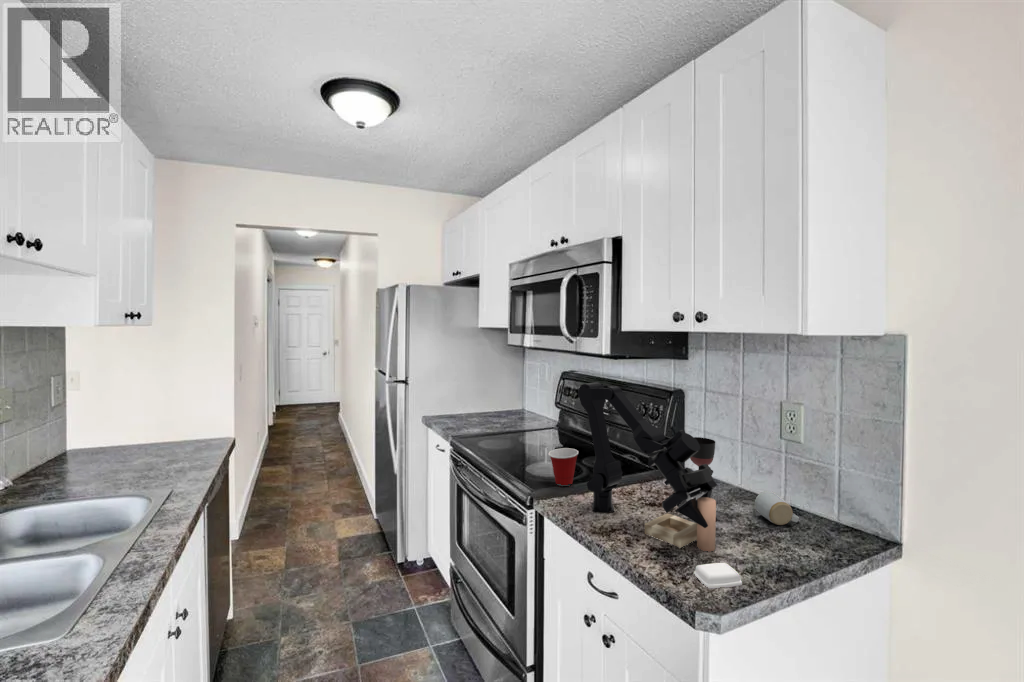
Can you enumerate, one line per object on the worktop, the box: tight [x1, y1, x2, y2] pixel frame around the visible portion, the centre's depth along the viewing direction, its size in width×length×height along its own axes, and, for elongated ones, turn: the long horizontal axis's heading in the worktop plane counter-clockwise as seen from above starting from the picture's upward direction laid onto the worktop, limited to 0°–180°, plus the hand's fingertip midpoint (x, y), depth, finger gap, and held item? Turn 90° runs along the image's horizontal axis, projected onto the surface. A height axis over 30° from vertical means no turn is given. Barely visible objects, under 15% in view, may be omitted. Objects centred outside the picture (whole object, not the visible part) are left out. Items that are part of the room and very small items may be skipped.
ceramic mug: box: [754, 490, 800, 526], centre depth 142 cm, size 11×8×8 cm
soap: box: [693, 562, 743, 589], centre depth 110 cm, size 9×7×3 cm
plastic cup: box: [548, 447, 579, 485], centre depth 173 cm, size 11×11×12 cm
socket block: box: [644, 512, 697, 549], centre depth 132 cm, size 11×11×3 cm
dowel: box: [696, 497, 717, 553], centre depth 125 cm, size 4×4×12 cm
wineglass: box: [689, 436, 716, 499], centre depth 156 cm, size 8×9×20 cm
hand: (711, 524), depth 124 cm, fingers closed on dowel, 4 cm apart
